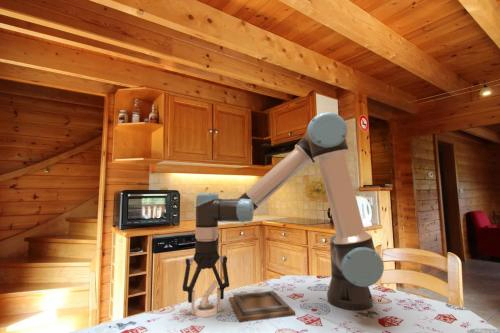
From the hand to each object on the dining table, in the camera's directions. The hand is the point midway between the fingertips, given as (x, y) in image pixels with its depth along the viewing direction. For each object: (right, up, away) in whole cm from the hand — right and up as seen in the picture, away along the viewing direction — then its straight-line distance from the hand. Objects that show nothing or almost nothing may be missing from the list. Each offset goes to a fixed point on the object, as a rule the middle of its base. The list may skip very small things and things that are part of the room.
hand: (205, 311), depth 88 cm
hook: (0, -1, 0) cm, 0 cm away
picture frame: (+18, -1, +4) cm, 18 cm away
